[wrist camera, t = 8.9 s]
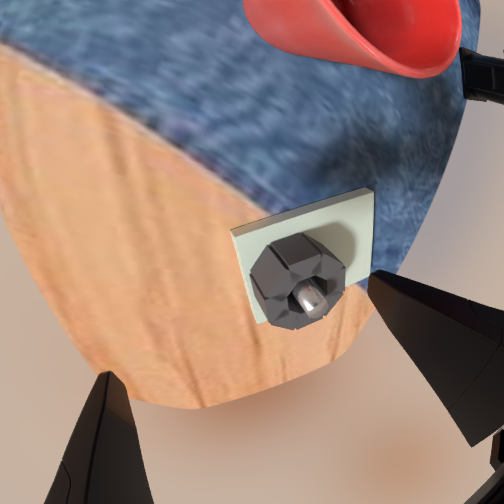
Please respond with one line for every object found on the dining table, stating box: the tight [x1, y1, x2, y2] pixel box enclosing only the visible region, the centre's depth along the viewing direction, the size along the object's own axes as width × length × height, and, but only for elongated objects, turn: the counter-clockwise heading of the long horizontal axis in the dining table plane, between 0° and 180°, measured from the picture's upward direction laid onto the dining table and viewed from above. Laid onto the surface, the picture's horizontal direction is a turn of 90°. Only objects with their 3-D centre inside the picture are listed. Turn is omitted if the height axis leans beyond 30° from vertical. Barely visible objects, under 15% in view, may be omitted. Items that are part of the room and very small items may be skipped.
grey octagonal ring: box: [249, 232, 346, 330], centre depth 21 cm, size 6×6×3 cm
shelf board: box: [230, 187, 374, 324], centre depth 23 cm, size 12×9×1 cm
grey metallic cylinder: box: [291, 278, 328, 318], centre depth 21 cm, size 2×2×6 cm
